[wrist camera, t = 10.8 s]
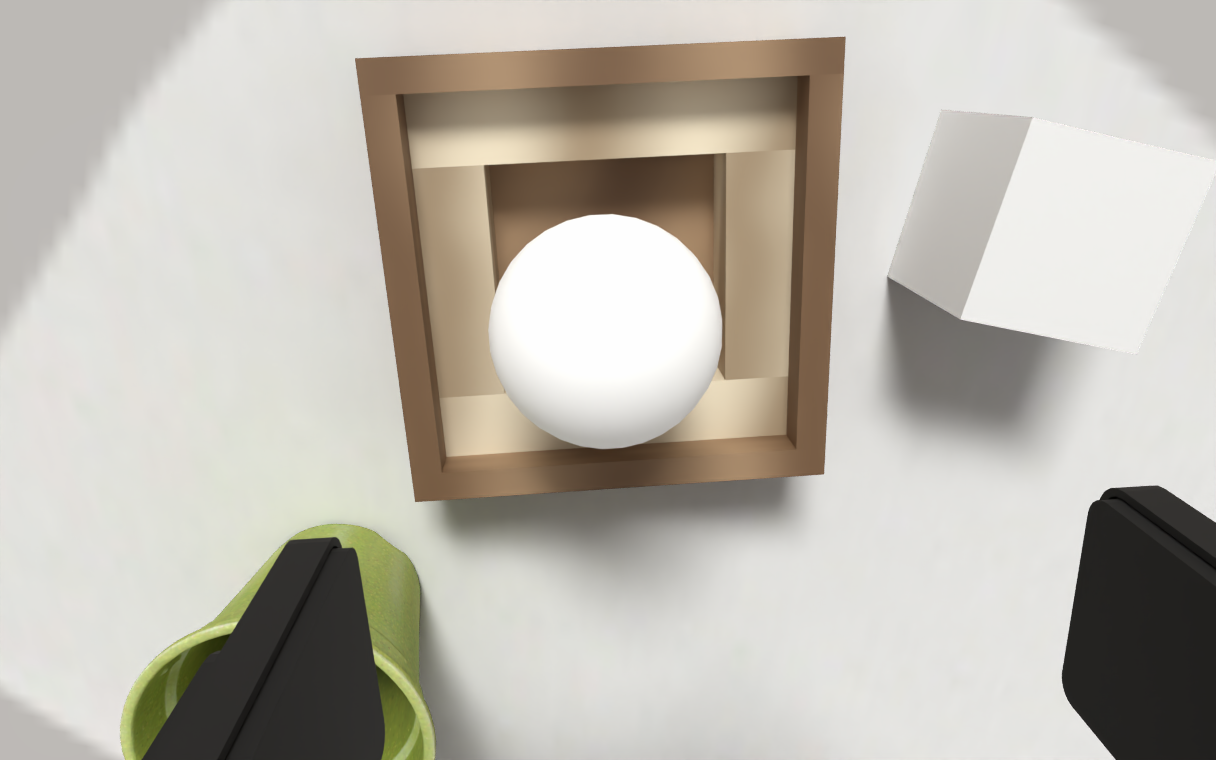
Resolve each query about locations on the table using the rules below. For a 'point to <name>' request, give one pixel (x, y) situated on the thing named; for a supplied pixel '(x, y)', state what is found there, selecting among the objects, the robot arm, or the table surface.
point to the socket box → (598, 185)
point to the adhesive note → (1048, 227)
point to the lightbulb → (605, 331)
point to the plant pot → (392, 638)
